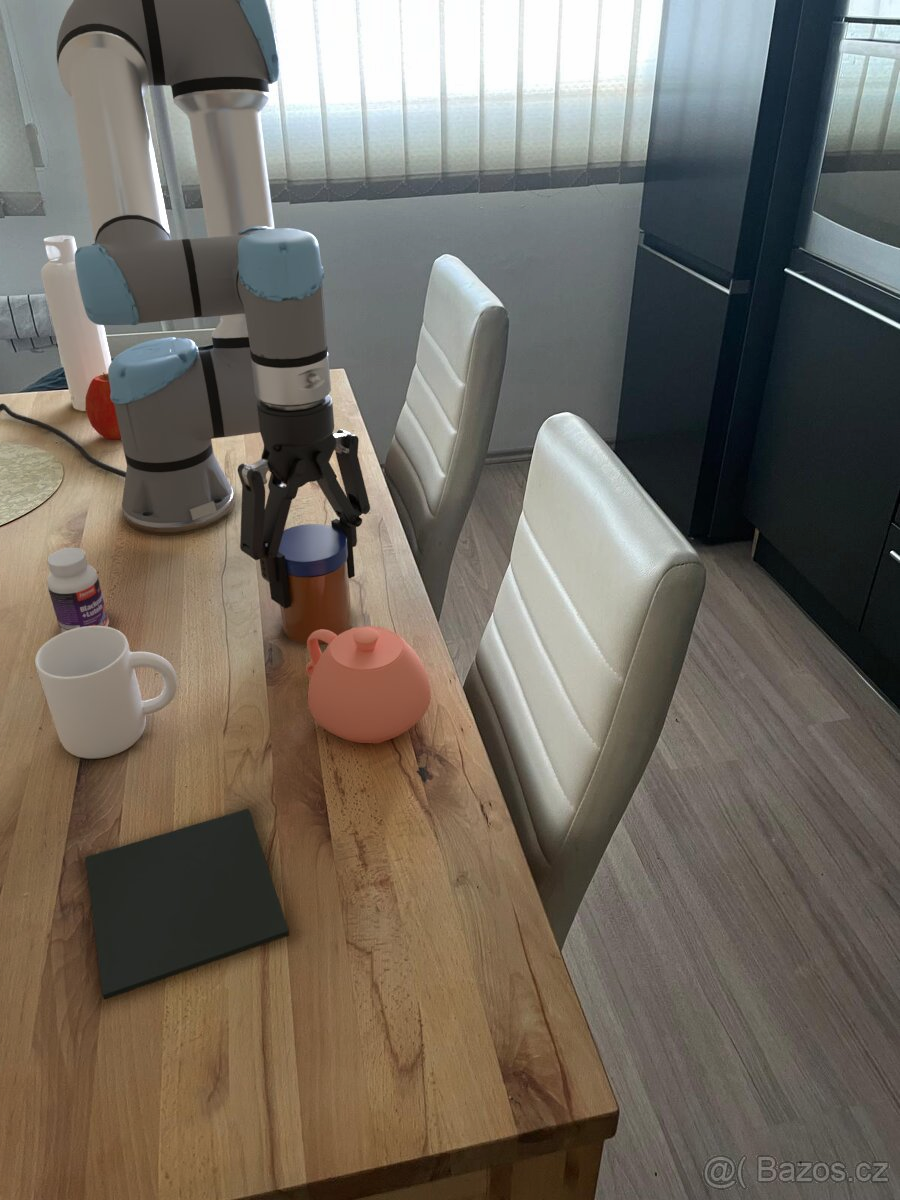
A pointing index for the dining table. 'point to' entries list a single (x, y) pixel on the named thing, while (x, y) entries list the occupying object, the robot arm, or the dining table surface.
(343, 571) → the jar
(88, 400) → the apple
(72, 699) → the mug
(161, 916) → the mat
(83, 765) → the dining table surface
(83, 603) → the pill bottle
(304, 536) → the lid
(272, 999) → the dining table surface
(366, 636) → the sugar bowl
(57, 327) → the bottle
